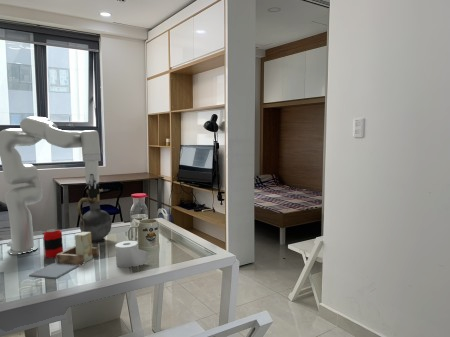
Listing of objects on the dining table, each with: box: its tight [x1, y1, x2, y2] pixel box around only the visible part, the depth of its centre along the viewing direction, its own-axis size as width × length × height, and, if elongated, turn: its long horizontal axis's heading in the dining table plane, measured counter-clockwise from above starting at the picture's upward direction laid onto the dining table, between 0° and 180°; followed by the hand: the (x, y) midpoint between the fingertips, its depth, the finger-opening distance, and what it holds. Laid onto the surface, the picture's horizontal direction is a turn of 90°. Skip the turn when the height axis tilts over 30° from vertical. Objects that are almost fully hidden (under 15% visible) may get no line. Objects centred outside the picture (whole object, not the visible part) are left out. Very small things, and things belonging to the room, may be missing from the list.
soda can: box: [43, 228, 64, 259], centre depth 165 cm, size 8×8×12 cm
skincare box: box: [74, 232, 93, 263], centre depth 157 cm, size 6×4×12 cm
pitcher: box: [77, 187, 112, 245], centre depth 183 cm, size 11×19×30 cm, turn 157°
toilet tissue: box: [114, 240, 148, 268], centre depth 152 cm, size 9×13×9 cm
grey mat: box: [28, 262, 79, 280], centre depth 145 cm, size 13×13×1 cm
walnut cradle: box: [55, 245, 100, 266], centre depth 158 cm, size 13×12×4 cm
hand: (94, 196), depth 158 cm, fingers open, 9 cm apart
